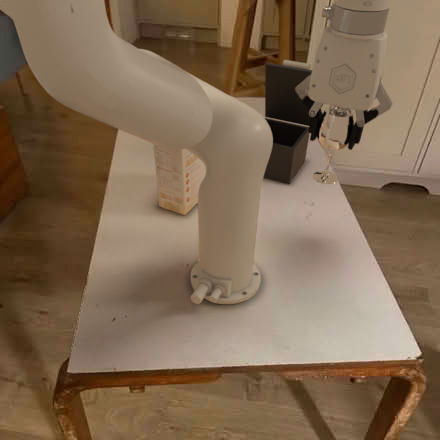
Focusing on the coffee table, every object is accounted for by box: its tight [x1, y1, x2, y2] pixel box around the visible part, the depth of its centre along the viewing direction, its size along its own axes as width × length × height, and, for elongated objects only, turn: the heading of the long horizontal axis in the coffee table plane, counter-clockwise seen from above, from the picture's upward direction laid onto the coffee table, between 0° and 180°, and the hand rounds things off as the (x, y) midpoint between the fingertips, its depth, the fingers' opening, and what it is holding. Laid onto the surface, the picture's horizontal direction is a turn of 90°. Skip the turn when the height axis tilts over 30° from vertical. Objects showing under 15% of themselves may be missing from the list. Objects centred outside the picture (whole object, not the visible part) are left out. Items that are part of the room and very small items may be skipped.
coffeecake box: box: [152, 144, 206, 216], centre depth 94 cm, size 15×7×20 cm, turn 152°
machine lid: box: [264, 59, 312, 127], centre depth 104 cm, size 13×12×5 cm
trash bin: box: [263, 117, 311, 185], centre depth 107 cm, size 13×12×9 cm
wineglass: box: [312, 105, 355, 185], centre depth 76 cm, size 6×6×12 cm
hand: (333, 141), depth 75 cm, fingers closed on wineglass, 5 cm apart
